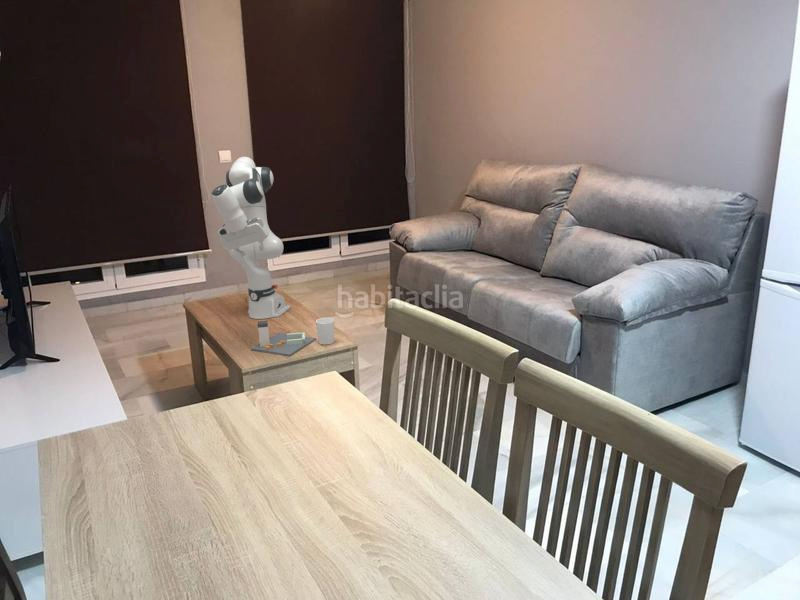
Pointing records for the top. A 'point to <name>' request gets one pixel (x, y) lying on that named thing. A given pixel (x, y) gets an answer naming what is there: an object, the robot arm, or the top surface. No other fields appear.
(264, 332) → the beige container
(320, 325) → the white cup
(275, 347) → the board
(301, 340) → the end holder
